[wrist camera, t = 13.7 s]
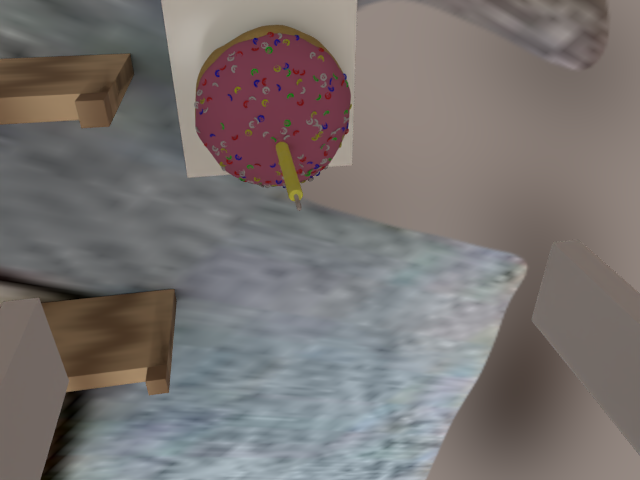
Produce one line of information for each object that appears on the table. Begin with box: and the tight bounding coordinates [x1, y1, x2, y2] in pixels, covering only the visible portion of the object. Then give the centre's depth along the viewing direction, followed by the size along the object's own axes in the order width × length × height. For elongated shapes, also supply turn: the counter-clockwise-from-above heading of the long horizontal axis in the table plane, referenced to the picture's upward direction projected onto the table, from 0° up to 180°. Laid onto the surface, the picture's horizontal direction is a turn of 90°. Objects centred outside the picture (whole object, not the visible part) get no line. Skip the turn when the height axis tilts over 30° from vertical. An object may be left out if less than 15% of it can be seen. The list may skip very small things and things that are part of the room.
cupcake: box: [194, 25, 352, 211], centre depth 27 cm, size 9×8×12 cm
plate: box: [161, 0, 357, 178], centre depth 33 cm, size 11×11×1 cm
